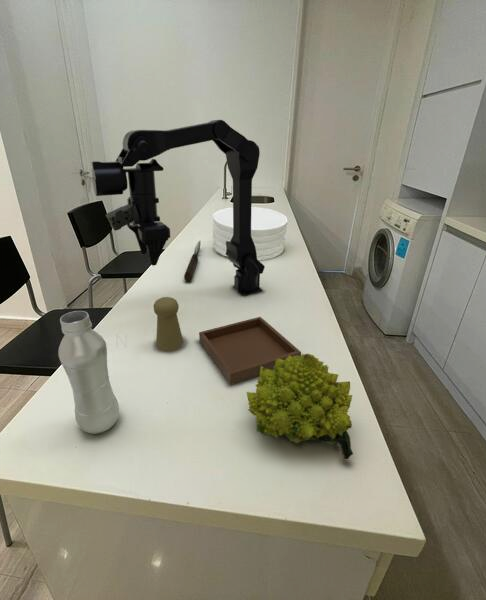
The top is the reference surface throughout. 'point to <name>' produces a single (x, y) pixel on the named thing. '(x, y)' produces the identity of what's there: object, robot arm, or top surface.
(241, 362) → the tray
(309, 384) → the vegetable
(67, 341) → the plastic bottle
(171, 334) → the cork
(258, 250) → the plate stack
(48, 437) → the top surface
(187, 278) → the kitchen knife
